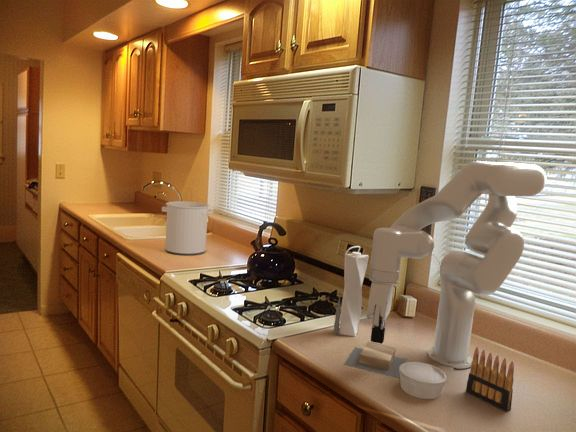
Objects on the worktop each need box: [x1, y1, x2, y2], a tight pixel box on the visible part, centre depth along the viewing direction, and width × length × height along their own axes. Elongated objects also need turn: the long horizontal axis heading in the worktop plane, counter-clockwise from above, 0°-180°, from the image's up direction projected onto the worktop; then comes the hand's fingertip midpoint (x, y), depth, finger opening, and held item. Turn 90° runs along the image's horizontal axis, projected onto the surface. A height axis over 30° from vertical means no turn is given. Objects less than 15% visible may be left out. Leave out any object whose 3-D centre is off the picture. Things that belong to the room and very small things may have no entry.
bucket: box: [161, 200, 214, 256], centre depth 243 cm, size 26×22×24 cm
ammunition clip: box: [465, 346, 515, 413], centre depth 114 cm, size 11×2×12 cm, turn 39°
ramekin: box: [399, 361, 448, 400], centre depth 117 cm, size 11×11×5 cm
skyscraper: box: [333, 245, 370, 338], centre depth 148 cm, size 8×8×28 cm
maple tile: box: [359, 341, 397, 370], centre depth 132 cm, size 2×8×10 cm
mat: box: [343, 346, 408, 379], centre depth 131 cm, size 13×15×1 cm
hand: (377, 341), depth 127 cm, fingers closed
